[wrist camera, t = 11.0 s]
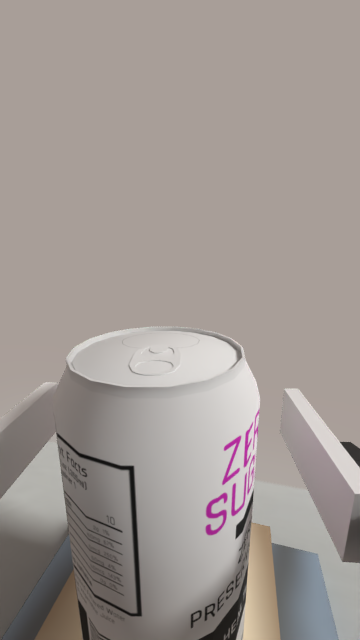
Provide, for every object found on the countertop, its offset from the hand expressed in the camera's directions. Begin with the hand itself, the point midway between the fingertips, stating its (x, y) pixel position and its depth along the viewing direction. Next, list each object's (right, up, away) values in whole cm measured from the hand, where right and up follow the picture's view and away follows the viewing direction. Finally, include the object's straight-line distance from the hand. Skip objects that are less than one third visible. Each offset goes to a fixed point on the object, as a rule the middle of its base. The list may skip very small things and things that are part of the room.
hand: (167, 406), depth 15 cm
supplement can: (0, -11, -1) cm, 11 cm away
